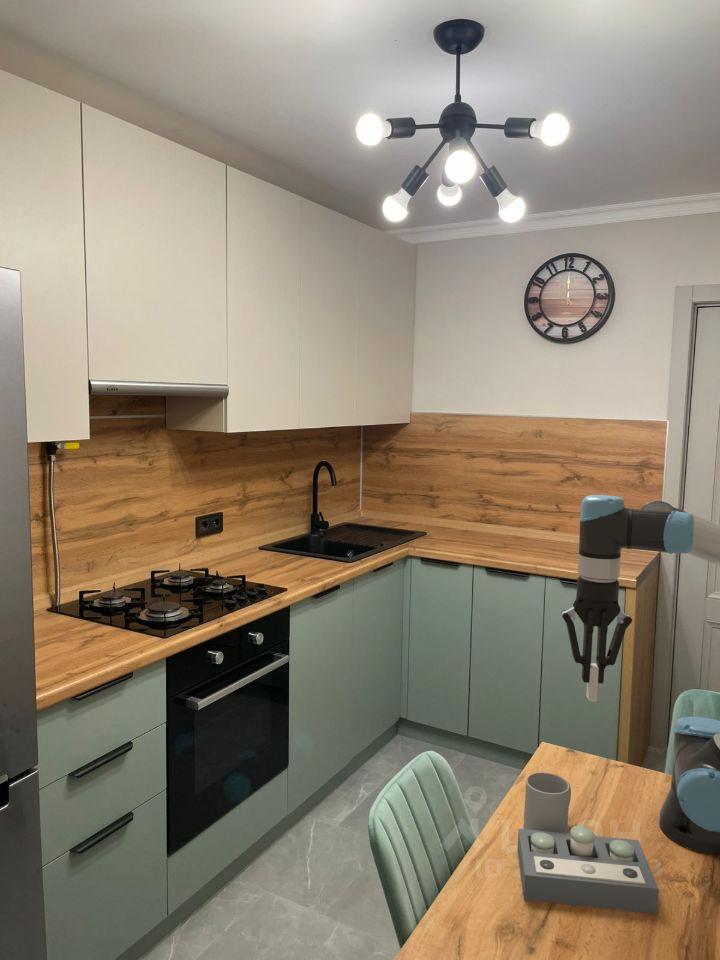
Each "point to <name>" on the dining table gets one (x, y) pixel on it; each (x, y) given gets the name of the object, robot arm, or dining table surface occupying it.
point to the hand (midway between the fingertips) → (591, 698)
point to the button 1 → (542, 843)
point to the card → (588, 870)
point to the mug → (546, 803)
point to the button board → (582, 888)
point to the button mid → (582, 841)
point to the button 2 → (621, 850)
